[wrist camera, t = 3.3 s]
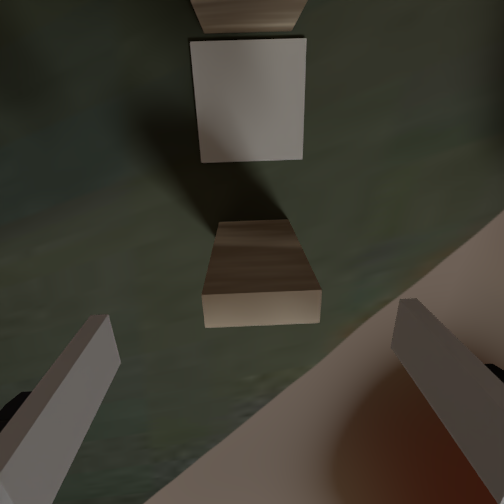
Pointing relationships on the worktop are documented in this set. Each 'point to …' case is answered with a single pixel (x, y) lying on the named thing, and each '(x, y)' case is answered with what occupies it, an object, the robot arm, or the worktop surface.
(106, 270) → the worktop surface
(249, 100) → the end pad
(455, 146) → the worktop surface
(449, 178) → the worktop surface
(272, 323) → the domino
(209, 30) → the domino
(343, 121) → the worktop surface
